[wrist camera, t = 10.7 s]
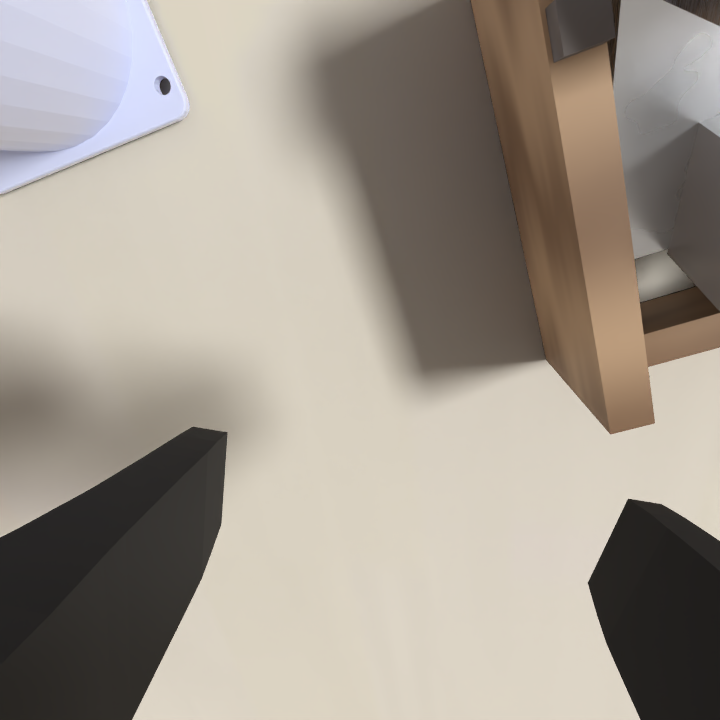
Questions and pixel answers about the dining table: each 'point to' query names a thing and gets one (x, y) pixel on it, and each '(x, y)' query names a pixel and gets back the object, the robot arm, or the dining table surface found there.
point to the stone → (701, 214)
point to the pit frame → (580, 206)
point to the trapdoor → (661, 104)
